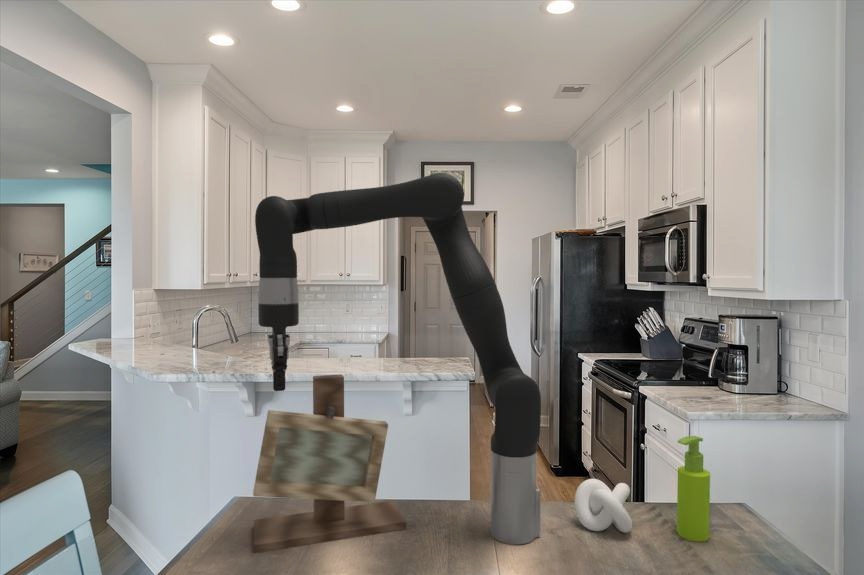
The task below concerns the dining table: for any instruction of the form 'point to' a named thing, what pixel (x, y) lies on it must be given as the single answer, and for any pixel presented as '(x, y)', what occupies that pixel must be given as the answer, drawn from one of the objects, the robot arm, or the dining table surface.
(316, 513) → the stand
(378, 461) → the frame
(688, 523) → the soap dispenser
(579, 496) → the white decorative knot
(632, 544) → the dining table surface
